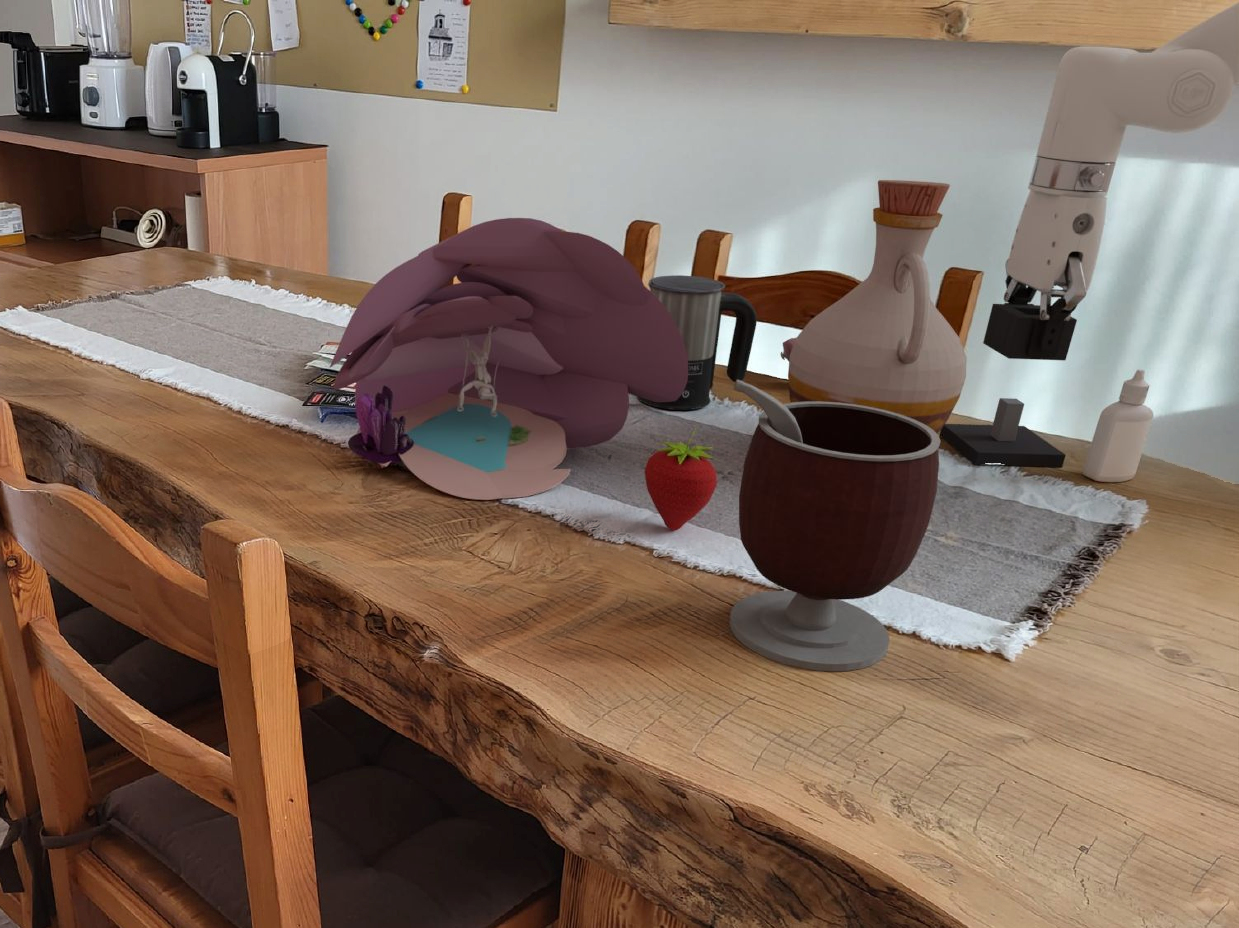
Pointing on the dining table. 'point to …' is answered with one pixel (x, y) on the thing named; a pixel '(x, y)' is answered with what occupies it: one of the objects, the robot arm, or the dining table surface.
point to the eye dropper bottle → (1120, 434)
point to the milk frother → (704, 332)
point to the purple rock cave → (504, 357)
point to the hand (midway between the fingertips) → (1025, 346)
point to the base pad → (1003, 440)
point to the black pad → (1020, 331)
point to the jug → (887, 324)
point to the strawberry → (680, 482)
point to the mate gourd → (829, 525)
